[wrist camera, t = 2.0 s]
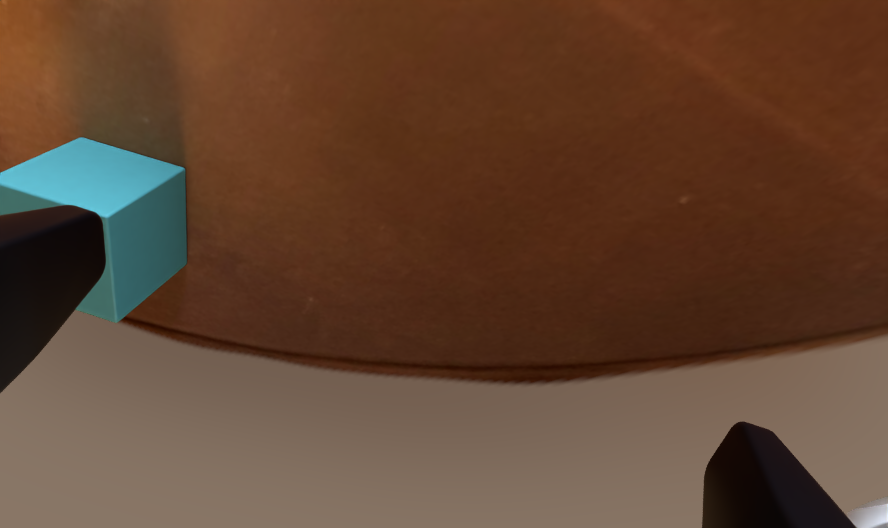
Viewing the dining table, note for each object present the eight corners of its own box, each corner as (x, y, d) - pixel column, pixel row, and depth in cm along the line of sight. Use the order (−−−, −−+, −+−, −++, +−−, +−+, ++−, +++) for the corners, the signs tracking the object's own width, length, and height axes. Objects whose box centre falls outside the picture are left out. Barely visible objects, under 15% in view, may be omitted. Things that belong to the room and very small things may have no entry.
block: (186, 167, 22) (106, 216, 18) (188, 264, 24) (116, 324, 20) (81, 135, 22) (-17, 178, 19) (91, 234, 24) (6, 288, 21)
